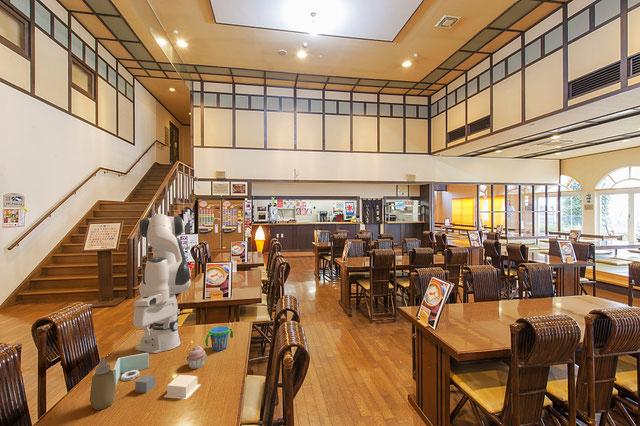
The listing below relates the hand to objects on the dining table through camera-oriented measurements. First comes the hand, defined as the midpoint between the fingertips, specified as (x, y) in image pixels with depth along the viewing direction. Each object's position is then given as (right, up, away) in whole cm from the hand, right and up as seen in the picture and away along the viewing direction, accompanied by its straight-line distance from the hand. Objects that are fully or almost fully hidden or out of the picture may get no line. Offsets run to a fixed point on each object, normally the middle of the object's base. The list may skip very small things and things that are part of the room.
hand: (157, 332), depth 121 cm
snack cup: (+12, -25, +40) cm, 49 cm away
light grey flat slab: (+9, -24, 0) cm, 26 cm away
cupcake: (+8, -25, +20) cm, 33 cm away
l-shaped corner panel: (-18, -26, +13) cm, 34 cm away
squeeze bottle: (-16, -25, -8) cm, 31 cm away
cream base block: (+10, -24, 0) cm, 26 cm away
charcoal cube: (-6, -25, +1) cm, 25 cm away
